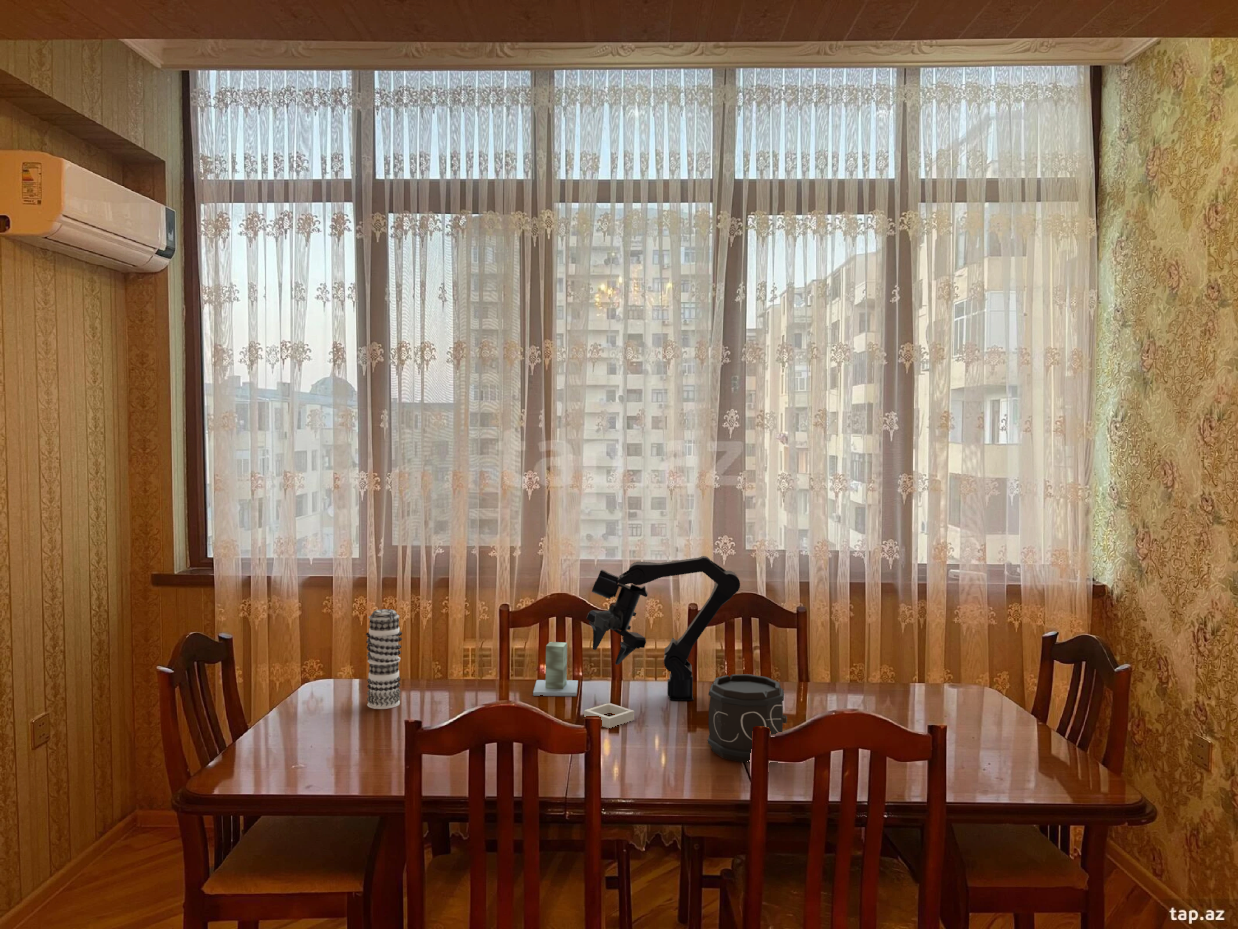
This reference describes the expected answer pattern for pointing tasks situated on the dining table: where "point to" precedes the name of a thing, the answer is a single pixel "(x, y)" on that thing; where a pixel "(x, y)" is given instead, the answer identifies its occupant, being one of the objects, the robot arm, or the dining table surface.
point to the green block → (556, 665)
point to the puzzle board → (619, 718)
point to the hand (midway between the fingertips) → (605, 657)
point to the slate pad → (566, 691)
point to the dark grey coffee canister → (742, 713)
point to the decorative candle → (383, 659)
